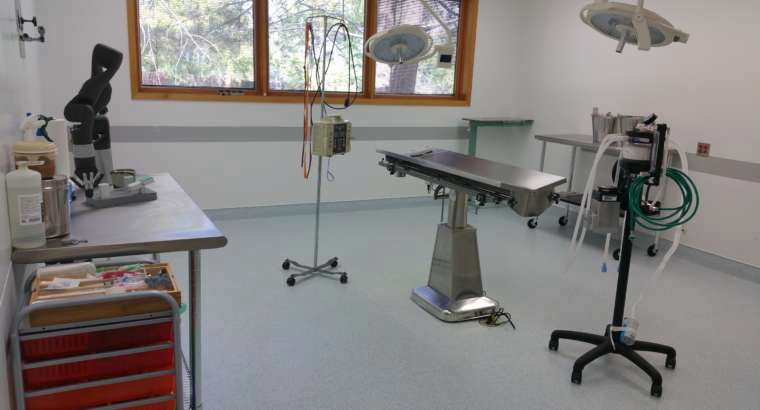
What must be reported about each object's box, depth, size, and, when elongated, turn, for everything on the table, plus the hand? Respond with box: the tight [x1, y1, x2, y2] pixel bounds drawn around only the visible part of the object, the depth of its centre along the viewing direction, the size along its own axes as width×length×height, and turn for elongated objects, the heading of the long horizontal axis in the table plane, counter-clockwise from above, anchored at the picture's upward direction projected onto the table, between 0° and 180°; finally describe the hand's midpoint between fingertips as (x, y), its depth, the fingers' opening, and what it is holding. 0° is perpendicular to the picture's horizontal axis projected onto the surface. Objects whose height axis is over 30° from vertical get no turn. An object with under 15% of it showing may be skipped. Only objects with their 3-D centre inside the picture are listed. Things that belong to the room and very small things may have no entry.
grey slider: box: [123, 176, 134, 190], centre depth 237 cm, size 3×3×6 cm
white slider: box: [97, 183, 110, 198], centre depth 222 cm, size 3×3×6 cm
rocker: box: [127, 175, 156, 191], centre depth 231 cm, size 5×10×2 cm, turn 133°
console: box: [85, 186, 158, 209], centre depth 231 cm, size 15×24×6 cm, turn 133°
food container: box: [109, 168, 138, 191], centre depth 248 cm, size 12×6×10 cm, turn 84°
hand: (89, 197), depth 219 cm, fingers closed
